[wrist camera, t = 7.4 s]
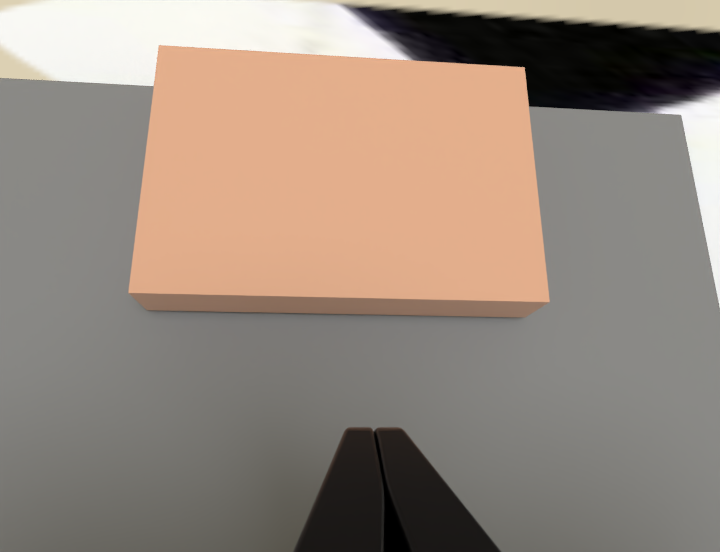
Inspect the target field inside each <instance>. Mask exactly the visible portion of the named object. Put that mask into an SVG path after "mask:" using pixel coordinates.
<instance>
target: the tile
mask: <svg viewBox="0 0 720 552" xmlns="http://www.w3.org/2000/svg"><path fill="white" fill-rule="evenodd" d="M128 293H129V294H130V295H131V296H132V297H133V298H134V299H135V300H136V301H137V302H139V303H140V304H141V305H142V306H143V307H144V308H145V309H146V310H157V311H210V312H262V313H315V314H367V315H419V316H472V317H524V318H525V317H527V316H528V315H530V314H531V313H533V312H535V311H536V310H538V309H540V308H541V307H543V306H544V305H546V304H548V303H549V302H550V300H549V290H548V281H547V272H546V262H545V253H544V244H543V235H542V225H541V216H540V207H539V197H538V188H537V179H536V170H535V160H534V151H533V142H532V132H531V123H530V114H529V104H528V95H527V86H526V77H525V68H524V67H508V66H491V65H475V64H458V63H442V62H426V61H409V60H393V59H376V58H360V57H343V56H327V55H310V54H294V53H277V52H261V51H244V50H228V49H211V48H195V47H179V46H162V45H159V49H158V57H157V65H156V73H155V81H154V89H153V97H152V105H151V113H150V122H149V130H148V138H147V146H146V154H145V162H144V170H143V178H142V186H141V194H140V202H139V210H138V219H137V227H136V235H135V243H134V251H133V259H132V267H131V275H130V283H129V291H128Z"/></svg>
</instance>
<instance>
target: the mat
mask: <svg viewBox="0 0 720 552" xmlns="http://www.w3.org/2000/svg"><path fill="white" fill-rule="evenodd" d="M153 89H154V86H138V85H119V84H101V83H82V82H64V81H45V80H27V79H9V78H0V552H293V550H294V548H295V546H296V543H297V541H298V539H299V536H300V534H301V532H302V529H303V527H304V525H305V522H306V520H307V518H308V515H309V513H310V511H311V508H312V506H313V503H314V501H315V499H316V496H317V494H318V492H319V489H320V487H321V485H322V482H323V480H324V478H325V475H326V473H327V471H328V468H329V466H330V463H331V461H332V459H333V456H334V454H335V452H336V449H337V447H338V445H339V442H340V440H341V438H342V435H343V433H344V431H345V430H346V429H347V428H348V427H370V428H372V429H373V431H374V430H375V429H376V428H378V427H400V428H402V429H403V430H404V431H405V432H406V433H407V434H408V436H409V437H410V438H411V439H412V441H413V442H414V443H415V444H416V446H417V447H418V448H419V449H420V451H421V452H422V453H423V454H424V456H425V457H426V458H427V459H428V461H429V462H430V463H431V464H432V466H433V467H434V468H435V469H436V471H437V472H438V473H439V474H440V476H441V477H442V478H443V479H444V481H445V482H446V483H447V484H448V486H449V487H450V488H451V489H452V491H453V492H454V493H455V494H456V495H457V497H458V498H459V499H460V500H461V502H462V503H463V504H464V505H465V507H466V508H467V509H468V510H469V512H470V513H471V514H472V515H473V517H474V518H475V519H476V520H477V522H478V523H479V524H480V525H481V527H482V528H483V529H484V530H485V532H486V533H487V534H488V535H489V537H490V538H491V539H492V540H493V542H494V543H495V544H496V545H497V547H498V548H499V549H500V550H501V552H720V308H719V303H718V298H717V293H716V288H715V283H714V278H713V273H712V268H711V263H710V258H709V253H708V248H707V243H706V238H705V233H704V228H703V223H702V218H701V213H700V208H699V203H698V198H697V193H696V188H695V183H694V178H693V173H692V168H691V163H690V158H689V153H688V147H687V142H686V137H685V132H684V127H683V122H682V117H681V115H672V114H654V113H635V112H617V111H599V110H580V109H562V108H543V107H529V114H530V123H531V132H532V142H533V151H534V160H535V170H536V179H537V188H538V197H539V207H540V216H541V225H542V235H543V244H544V253H545V262H546V272H547V281H548V290H549V300H550V302H549V303H548V304H546V305H544V306H543V307H541V308H540V309H538V310H536V311H535V312H533V313H531V314H530V315H528V316H527V317H525V318H524V317H472V316H419V315H367V314H315V313H262V312H210V311H157V310H146V309H145V308H144V307H143V306H142V305H141V304H140V303H139V302H137V301H136V300H135V299H134V298H133V297H132V296H131V295H130V294H129V293H128V291H129V283H130V275H131V267H132V259H133V251H134V243H135V235H136V227H137V219H138V210H139V202H140V194H141V186H142V178H143V170H144V162H145V154H146V146H147V138H148V130H149V122H150V113H151V105H152V97H153Z"/></svg>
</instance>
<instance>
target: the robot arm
mask: <svg viewBox="0 0 720 552" xmlns="http://www.w3.org/2000/svg"><path fill="white" fill-rule="evenodd" d="M293 552H501V550H500V549H499V548H498V547H497V545H496V544H495V543H494V542H493V540H492V539H491V538H490V537H489V535H488V534H487V533H486V532H485V530H484V529H483V528H482V527H481V525H480V524H479V523H478V522H477V520H476V519H475V518H474V517H473V515H472V514H471V513H470V512H469V510H468V509H467V508H466V507H465V505H464V504H463V503H462V502H461V500H460V499H459V498H458V497H457V495H456V494H455V493H454V492H453V491H452V489H451V488H450V487H449V486H448V484H447V483H446V482H445V481H444V479H443V478H442V477H441V476H440V474H439V473H438V472H437V471H436V469H435V468H434V467H433V466H432V464H431V463H430V462H429V461H428V459H427V458H426V457H425V456H424V454H423V453H422V452H421V451H420V449H419V448H418V447H417V446H416V444H415V443H414V442H413V441H412V439H411V438H410V437H409V436H408V434H407V433H406V432H405V431H404V430H403V429H402V428H400V427H378V428H376V429H375V430H374V431H373V429H372V428H370V427H348V428H347V429H346V430H345V431H344V433H343V435H342V438H341V440H340V442H339V445H338V447H337V449H336V452H335V454H334V456H333V459H332V461H331V463H330V466H329V468H328V471H327V473H326V475H325V478H324V480H323V482H322V485H321V487H320V489H319V492H318V494H317V496H316V499H315V501H314V503H313V506H312V508H311V511H310V513H309V515H308V518H307V520H306V522H305V525H304V527H303V529H302V532H301V534H300V536H299V539H298V541H297V543H296V546H295V548H294V550H293Z"/></svg>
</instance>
